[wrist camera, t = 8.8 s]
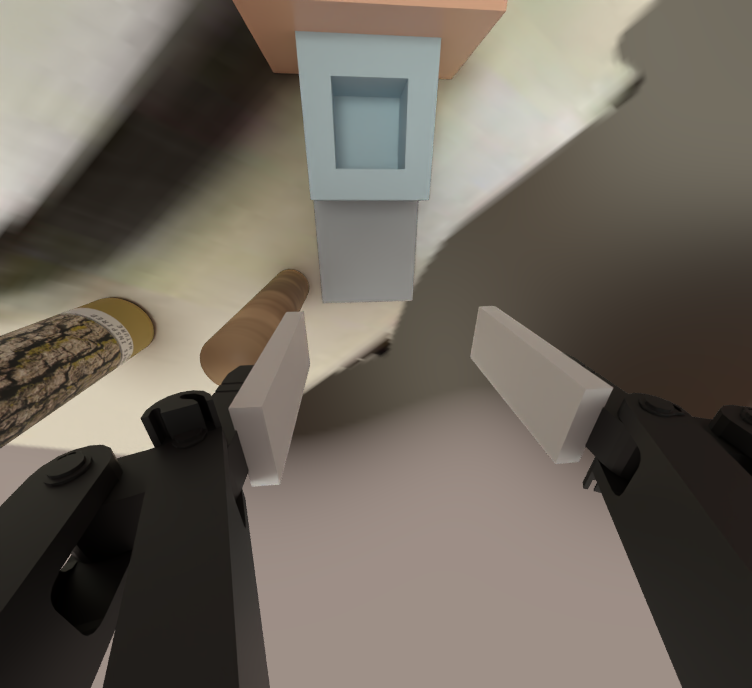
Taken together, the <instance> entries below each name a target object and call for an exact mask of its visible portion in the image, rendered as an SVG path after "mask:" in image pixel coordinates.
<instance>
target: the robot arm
mask: <svg viewBox="0 0 752 688" xmlns="http://www.w3.org/2000/svg"><path fill="white" fill-rule="evenodd" d="M470 357H471V359H472V360H473V361H474V363H475V364H476V365H477V366H478V367H479V369H480V370H481V371H482V373H483V374H484V375H485V376H486V378H487V379H488V380H489V381H490V383H491V384H492V385H493V386H494V388H495V389H496V390H497V392H498V393H499V394H500V395H501V396H502V398H503V399H504V400H505V402H506V403H507V404H508V405H509V407H510V408H511V409H512V410H513V412H514V413H515V414H516V415H517V416H518V418H519V419H520V420H521V422H522V423H523V424H524V425H525V427H526V428H527V429H528V430H529V431H530V433H531V434H532V435H533V437H534V438H535V439H536V440H537V442H538V443H539V444H540V446H541V447H542V448H543V449H544V451H545V452H546V453H547V454H548V456H549V457H550V458H551V459H552V460H553V462H554V463H555V464H559V463H571V462H572V463H573V462H579V461H580V458H581V456H582V454H583V452H584V449H585V448H586V447H587V448H588V449H589V450H590V451H591V452H592V453H593V454H594V455H595V458H594V460H593V462H592V465H591V466H590V468H589V470H588V473H587V475H586V477H585V479H584V481H583V488H584V489H588V488H589V486H590V484H591V482H592V480H596V481H597V484H596V486H595V488H594V491H596V492H600V493H602V496H603V498H604V500H605V503H606V505H607V508H608V510H609V512H610V515H611V517H612V520H613V522H614V525H615V527H616V529H617V532H618V534H619V537H620V539H621V541H622V544H623V546H624V549H625V551H626V553H627V556H628V558H629V560H630V563H631V565H632V568H633V570H634V572H635V575H636V577H637V579H638V582H639V584H640V587H641V590H642V592H643V594H644V597H645V599H646V602H647V604H648V606H649V609H650V611H651V613H652V616H653V618H654V621H655V623H656V626H657V628H658V630H659V633H660V635H661V638H662V640H663V642H664V645H665V647H666V650H667V652H668V654H669V657H670V659H671V662H672V664H673V667H674V669H675V671H676V673H677V676H678V679H679V681H680V683H681V685H682V688H752V408H750V407H743V406H736V405H726V406H723V407H721V408H720V410H719V411H718V412H717V414H716V415H715V417H714V418H713V420H712V419H704V418H698V417H692V416H691V415H690V414H689V413H687V412H686V411H685V410H683V409H682V408H681V407H680V406H678V405H676V404H673V403H672V402H670V401H667V400H664V399H662V398H659V397H656V396H652V395H648V394H641V393H632V394H628V393H626V392H625V391H623V390H622V389H620V388H619V387H617V386H615V385H614V384H613V383H611V382H610V381H608V380H607V379H605V378H604V377H602V376H601V375H599V374H598V373H595V371H593V370H592V369H590V368H589V367H585V364H583V363H582V362H580V361H579V360H577V359H576V358H574V357H572V356H570V355H567V354H565V353H563V352H560V351H559V350H558V349H556V348H555V347H553V346H552V345H551V344H549V343H548V342H546V341H545V340H543V339H542V338H540V337H539V336H537V335H536V334H535V333H533V332H531V331H530V330H529V329H527V328H526V327H524V326H523V325H521V324H520V323H519V322H517V321H516V320H514V319H512V318H511V317H510V316H508V315H507V314H506V313H504V312H503V311H501V310H500V309H498V308H497V307H495V306H479V310H478V315H477V321H476V327H475V333H474V339H473V344H472V350H471V356H470ZM309 367H310V359H309V351H308V343H307V335H306V327H305V319H304V311H303V312H286V313H285V315H284V317H283V318H282V320H281V322H280V323H279V325H278V327H277V328H276V330H275V332H274V333H273V335H272V337H271V338H270V340H269V342H268V343H267V345H266V347H265V348H264V350H263V352H262V353H261V355H260V357H259V358H258V360H257V362H256V363H255V365H240V366H238V367H237V368H236V369H234V370H233V371H231V372H230V373H228V374H227V376H226V377H225V379H224V380H223V381H222V383H221V385H219V387H218V388H217V390H216V391H215V393H214V394H213V395H212V396H211V395H210V394H209V393H207V392H205V391H195V390H192V391H186V392H180V393H177V394H174V395H171V396H168V397H166V398H164V399H162V400H160V401H158V402H156V403H155V404H153V405H152V406H151V407H150V408H148V409H147V410H146V411H145V412H144V414H143V416H142V417H141V420H142V422H143V424H144V426H145V428H146V431H147V433H148V435H149V437H150V439H151V441H152V443H153V445H154V447H155V448H152V449H149V450H146V451H142V452H138V453H135V454H131V455H127V456H124V457H120V458H116V457H115V455H114V453H113V451H112V450H111V448H109V447H107V446H104V445H91V446H87V447H83V448H79V449H75V450H73V451H70V452H68V453H65V454H63V455H61V456H58V457H57V458H55V459H54V460H52V461H50V462H49V463H47V464H45V465H43V466H42V467H41V468H39V469H38V470H37V471H36V472H35V473H33V474H32V475H31V476H30V477H29V478H28V479H27V480H26V481H25V482H24V483H23V484H22V485H21V486H20V487H19V488H18V489H17V490H16V491H15V492H14V493H13V494H12V495H11V496H10V497H9V498H8V499H7V500H6V501H5V502H4V503H3V504H2V505H1V506H0V688H91V686H92V683H93V681H94V679H95V676H96V674H97V672H98V669H99V667H100V664H101V662H102V660H103V657H104V655H105V652H106V650H107V648H108V645H109V643H110V640H111V638H112V636H113V634H114V638H113V643H112V648H111V652H110V656H109V661H108V666H107V670H106V675H105V680H104V684H103V688H270V686H269V677H268V670H267V662H266V654H265V647H264V639H263V631H262V624H261V616H260V609H259V601H258V593H257V585H256V577H255V570H254V562H253V554H252V547H251V539H250V532H249V524H248V516H247V509H246V500H245V496H244V493H243V490H242V487H243V484H244V482H245V479H246V476H247V474H248V475H249V478H250V482H251V485H252V486H265V485H278V484H280V482H281V478H282V474H283V470H284V466H285V462H286V458H287V454H288V450H289V446H290V442H291V438H292V434H293V430H294V426H295V422H296V419H297V414H298V411H299V407H300V403H301V398H302V395H303V391H304V387H305V383H306V379H307V375H308V371H309ZM70 554H72V555H71V557H70V558H69V560H68V561H67V563H66V564H65V565H64V563H65V562H66V560H67V558H68V557H69V555H70ZM63 565H64V566H63ZM62 566H63V568H62ZM61 568H62V569H61ZM60 569H61V570H60ZM114 631H115V633H114Z"/></svg>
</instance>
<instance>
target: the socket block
mask: <svg viewBox="0 0 752 688" xmlns="http://www.w3.org/2000/svg"><path fill="white" fill-rule="evenodd" d="M295 37H296V48H297V58H298V69H299V80H300V90H301V101H302V112H303V122H304V133H305V143H306V154H307V165H308V175H309V186H310V197H311V200H316V201H421V200H429V195H430V181H431V168H432V155H433V142H434V128H435V115H436V102H437V89H438V76H439V62H440V49H441V38H438V37H416V36H395V35H373V34H351V33H330V32H308V31H295Z"/></svg>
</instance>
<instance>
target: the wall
mask: <svg viewBox="0 0 752 688" xmlns="http://www.w3.org/2000/svg"><path fill="white" fill-rule="evenodd" d="M507 1H508V0H233V2H234V4H235V6H236V7H237V9H238V11H239V13H240V14H241V16H242V18H243V20H244V21H245V23H246V25H247V27H248V28H249V30H250V32H251V34H252V35H253V37H254V39H255V41H256V43H257V44H258V46H259V48H260V50H261V51H262V53H263V55H264V57H265V58H266V60H267V62H268V64H269V65H270V67H271V69H272V71H273V72H274V73H288V74H299V69H298V58H297V48H296V37H295V31H308V32H330V33H351V34H373V35H395V36H416V37H438V38H441V49H440V62H439V76H438V79H452V78H453V77H454V75H455V74H456V73H457V72H458V70H459V69H460V68H461V67H462V65H463V64H464V63H465V62H466V60H467V59H468V58H469V57H470V55H471V54H472V53H473V52H474V50H475V49H476V48H477V47H478V45H479V44H480V43H481V42H482V40H483V39H484V38H485V37H486V35H487V34H488V33H489V32H490V30H491V29H492V28H493V27H494V25H495V24H496V23H497V22H498V20H499V19H500V18H501V17H502V15H503V14H504V13H505V12H506V7H507Z"/></svg>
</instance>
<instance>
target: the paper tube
mask: <svg viewBox="0 0 752 688" xmlns="http://www.w3.org/2000/svg"><path fill="white" fill-rule="evenodd" d="M153 335H154V329H153V325H152V322H151V320H150V318H149V317H148V316H147V314H146V313H145V312H144V311H143V310H142V309H140V308H139V307H138V306H136V305H134V304H133V303H131V302H128V301H125V300H122V299H118V298H104V299H100V300H97V301H94V302H91V303H89V304H86V305H83V306H81V307H78V308H75V309H72V310H69V311H66V312H64V313H61V314H58V315H56V316H53V317H50V318H47V319H45V320H42V321H39V322H37V323H34V324H31V325H29V326H26V327H23V328H21V329H18V330H15V331H12V332H10V333H7V334H4V335H2V336H0V448H2V447H3V446H5V445H6V444H7V443H9V442H10V441H12V440H13V439H15V438H16V437H18V436H19V435H20V434H22V433H23V432H25V431H26V430H28V429H29V428H31V427H32V426H33V425H35V424H36V423H38V422H39V421H41V420H42V419H44V418H45V417H46V416H48V415H49V414H51V413H52V412H54V411H55V410H57V409H58V408H59V407H61V406H62V405H64V404H65V403H67V402H68V401H69V400H71V399H72V398H74V397H75V396H77V395H78V394H80V393H81V392H82V391H84V390H85V389H87V388H88V387H90V386H91V385H93V384H94V383H95V382H97V381H98V380H100V379H101V378H103V377H104V376H106V375H107V374H108V373H110V372H111V371H113V370H114V369H116V368H117V367H119V366H120V365H121V364H123V363H124V362H126V361H127V360H128V359H130V358H131V357H133V356H134V355H135V354H137V353H138V352H140V351H141V350H143V349H144V348H146V347H147V346H148V345H149V344H150V343H151V341H152V339H153Z"/></svg>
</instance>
